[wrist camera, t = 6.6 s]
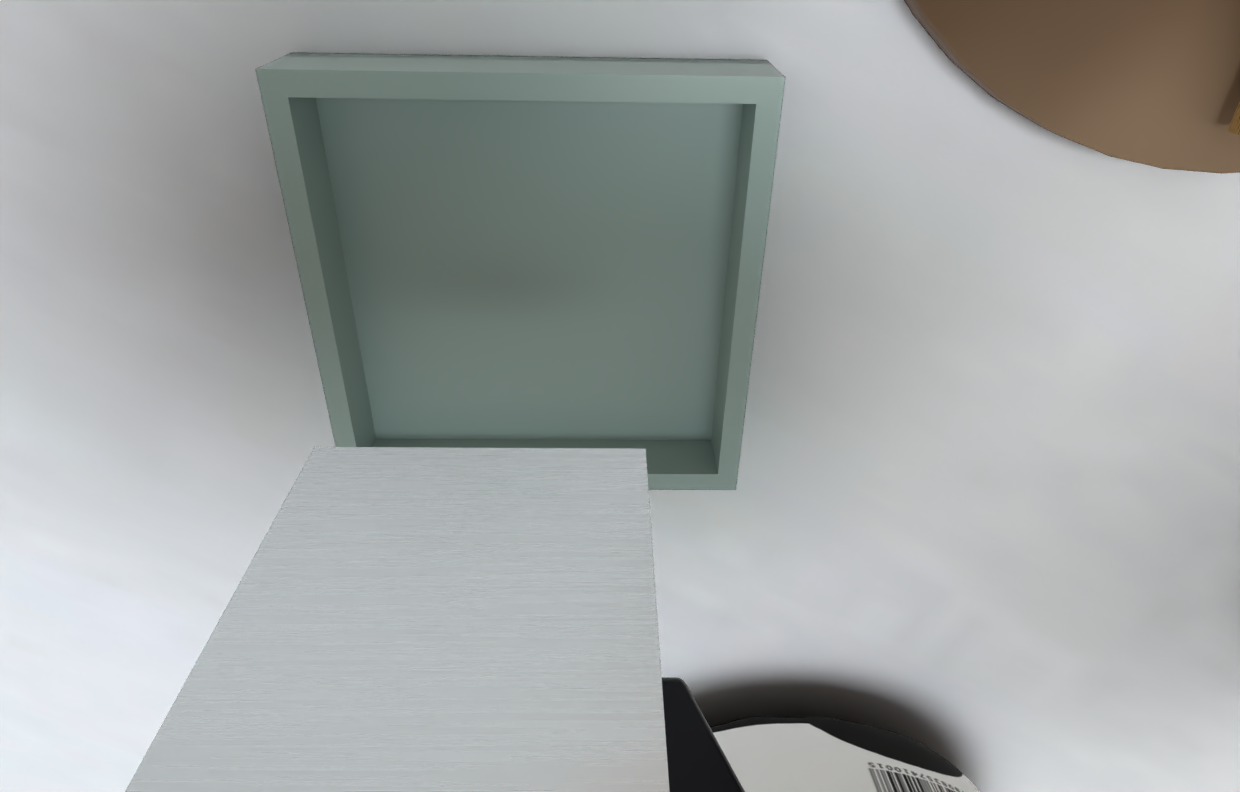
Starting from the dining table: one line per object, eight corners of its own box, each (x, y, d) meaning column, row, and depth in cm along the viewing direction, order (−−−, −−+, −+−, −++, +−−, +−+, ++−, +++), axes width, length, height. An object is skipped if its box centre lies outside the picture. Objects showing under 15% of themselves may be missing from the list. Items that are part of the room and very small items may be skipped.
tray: (725, 445, 22) (735, 489, 20) (364, 443, 22) (344, 488, 20) (766, 60, 17) (785, 76, 15) (291, 52, 16) (255, 69, 15)
